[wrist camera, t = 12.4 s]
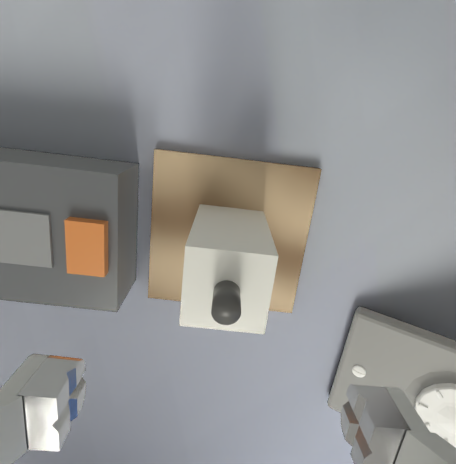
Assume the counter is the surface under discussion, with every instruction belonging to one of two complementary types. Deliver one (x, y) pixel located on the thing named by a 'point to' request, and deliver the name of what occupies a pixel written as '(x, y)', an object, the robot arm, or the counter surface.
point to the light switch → (401, 367)
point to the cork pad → (234, 196)
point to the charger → (228, 270)
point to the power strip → (76, 199)
